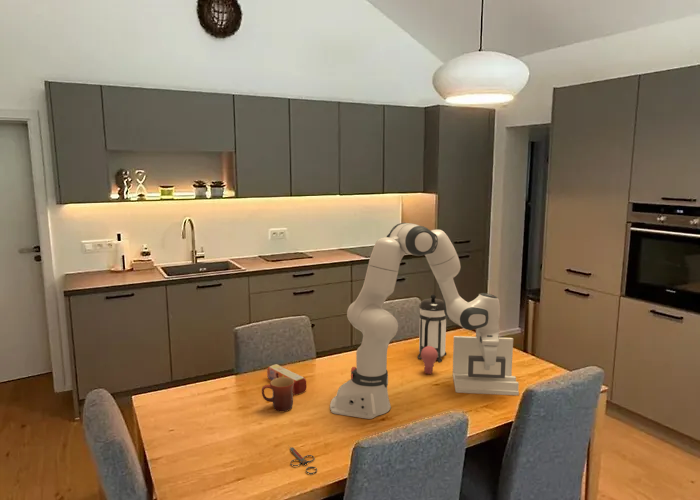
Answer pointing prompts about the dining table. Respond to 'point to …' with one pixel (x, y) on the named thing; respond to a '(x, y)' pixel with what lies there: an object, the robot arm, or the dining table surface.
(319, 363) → the dining table surface
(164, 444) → the dining table surface
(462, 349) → the picture ledge
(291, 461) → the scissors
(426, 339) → the coffee press
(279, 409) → the mug
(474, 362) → the picture frame
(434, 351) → the light bulb
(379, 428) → the dining table surface
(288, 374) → the snack package
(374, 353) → the robot arm
